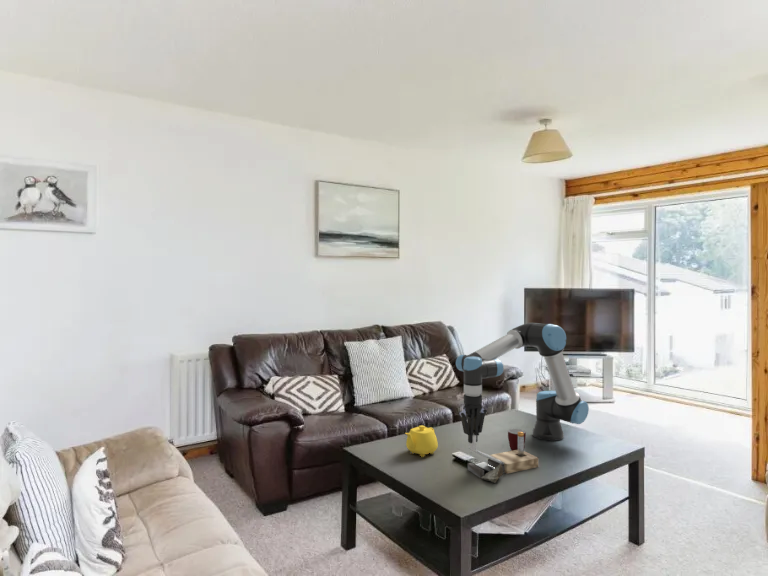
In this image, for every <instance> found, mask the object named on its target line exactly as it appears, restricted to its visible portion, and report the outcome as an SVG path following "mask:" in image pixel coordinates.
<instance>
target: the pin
mask: <svg viewBox="0 0 768 576" xmlns="http://www.w3.org/2000/svg"><path fill="white" fill-rule="evenodd" d="M524 445H525V444H524V432H518V456H519V457H523V456H524V451H525V448H524Z"/></svg>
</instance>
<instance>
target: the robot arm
mask: <svg viewBox="0 0 768 576" xmlns="http://www.w3.org/2000/svg"><path fill="white" fill-rule="evenodd" d="M566 344H567V335H566V331H565V330H564V329H563V328H562V327H561V326H560V325H557V324H553V323H538V322H527V323H523V324H521V325H520V324H519V325H518V326H516V327H514V328H512V329H510V330H508V331H507V333H506V334H505V335H503V336H501V337H500V338H498V339H495V340H494V341H492V342H490V343H488V344H486V345H485V346H483V347H481V348H479V349H477V350H476V351H474V352H472V353H469V354H459V355H458V357H456V359H455V366H456V369H457V370H458V371H460V372H463V393H464V394H463V404H464V405H463V409H462V410H461V411H459V412H458V415H459V417H460V420H461V425H462V431H463V433H464V434H466V435H467V441H468V444H469V447H470V449H469V451H471V452H474V451H476V450H477V443H478V440H479V439H478V436H479V435H480V433H482V431H483V427H484V421H485V416H486V415H487V412H488V411H487V409H485V408H483V406H482V404H483V396H482V394H483V379H489V378H496V377H499V376H501V375H502V374H503V373H504V363H503V362H502V361H501V360H500V359H499V358H500V357H501V356H504V355H505V354H507V353H510V352H511V351H512V350H514V349H516V350H518V349H521V348H523V347H531V348H536V349H537V351H538V354H539V355H540V356H541V357H543V358H544V360H545V364H546V367H547V370H548V372H549V373H548V374H549V376H550V379H551V382H552V385H553V388H554V390H542V391H539V392H538V393H536V398H535V405H536V406H535V407H536V409H535V412H536V414H535V415H536V417H535V419H536V420H535V424H534V427H533V429H532V436H533V437H534V438H536V439H539V440H544V441H560V440H562V439H564V436H565V434H564V430H563V426H562V424H561V421H564V422H566V423H570V424H575V425H582V424H583V423H584V422H585V421H586V419H587V418H588V415H589V412H590V411H589V404H588V402H586V401H585V400H582V399H581V396H580V394H579V393H578V391H575V387H574V384H573V381H572V379H571V376H570V373H569V369H568V367H567V363H566V360H565V358H564V354H563V351H565V347H566Z"/></svg>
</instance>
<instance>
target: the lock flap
mask: <svg viewBox="0 0 768 576" xmlns="http://www.w3.org/2000/svg"><path fill="white" fill-rule="evenodd" d="M468 449H469V450H470V446H469V448H468ZM473 452H475V453H477V454H478V455H480V456H482V457H484V458H486V459H491V460H493V461H496V462H498V463H500V464H502V465H504V464H505V463H504V462H502V461H500V460H498V459H496V458H495V457H493V456H491V455H492V454H488V453H485V452H482V451H480V450H478V449H476V451H473Z"/></svg>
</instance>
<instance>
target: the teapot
mask: <svg viewBox="0 0 768 576" xmlns="http://www.w3.org/2000/svg"><path fill="white" fill-rule="evenodd" d="M404 434H406V436H407V437H406V443H405V446H406V448H407V449H408V451H410V452H412V453H415V454H416V455H417V454H418V455H419V457H420V456H421V457H420V458H425V457H426V455H428V454H429V453H430V455H433V454H435V452H436V450H438V447H439V443H438V438H437V436H436V433H435V429H434V428H433V427H427V426H425V425H418V426H416V427H413V428H410V430H409V432H405V433H404ZM424 456H425V457H424Z"/></svg>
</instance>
